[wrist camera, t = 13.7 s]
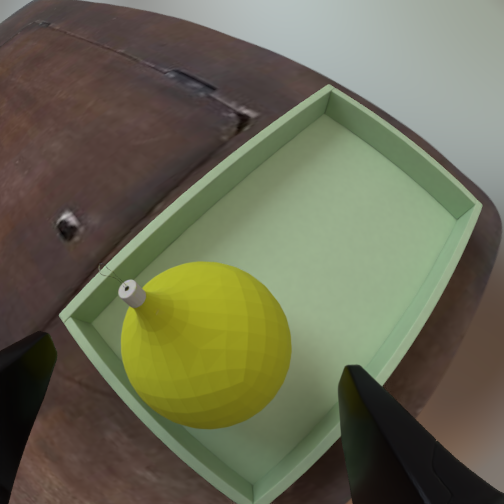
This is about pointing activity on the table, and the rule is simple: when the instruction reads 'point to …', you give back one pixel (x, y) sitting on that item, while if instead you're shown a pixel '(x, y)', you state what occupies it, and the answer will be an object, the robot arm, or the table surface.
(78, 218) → the table surface
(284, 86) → the table surface
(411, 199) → the pale green tray
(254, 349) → the ornament
